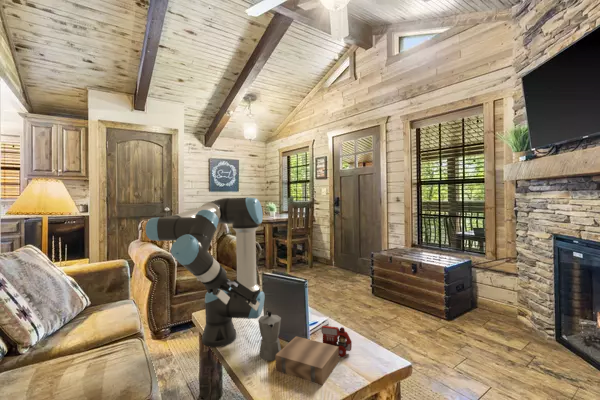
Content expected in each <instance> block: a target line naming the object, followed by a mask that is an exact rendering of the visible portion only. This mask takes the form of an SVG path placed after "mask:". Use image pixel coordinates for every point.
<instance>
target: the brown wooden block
mask: <svg viewBox="0 0 600 400" xmlns="http://www.w3.org/2000/svg"><path fill="white" fill-rule="evenodd" d="M339 359H340V356H339V347H338V346H334V345H330V344H326V343H323V341H322V342H321V341H317V340H313V339H309V338H305V337H300V336H297V335H296V336H295V337H293V338H292V339H291V340H290V341H289V342H288V343H287V344H286V345H284V347H283V348H281V350H280V351H279V352H278V353H277V354H276V355H275V360H274V361H275V371H276V372H278V373H281V374H285V375H286V376H287V375H288V376H291V377H294V378H296V379H300V380H304V381H306V382H309V383H313V384H315V385H319V386H323V385H324V384H325V382H326V381H327V380H328V378H329V376H330V375H331V374H332V372H333V371H334V369H335V368H336V366H337V365H338V363H339V361H340V360H339Z"/></svg>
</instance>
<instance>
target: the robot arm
mask: <svg viewBox="0 0 600 400" xmlns="http://www.w3.org/2000/svg"><path fill="white" fill-rule="evenodd" d="M263 214H264V213H263V207H262V205H261V202H260V200H259V199H258V198H257V197H248V196H247V197H223V198H219V199H215V200H213V201H208V202H205V203H204V204H202V206H200V207H196V208H193V209H190V210H187V211H183V212H180V213H176V214H173V215H168V216H166V217H164V216H163V217H162V216H158V217H151V218H149V220H147V222H146V225H145V228H144V229H145V234H146V237H147V239H149V240H151V241H156V242H157V241H158V242H162V241H163V242H164V241H165V242H168V241H169V242H172V241H173V243H172V245H171V248H170V252H171V255H172V256H173V258H174V259H175V260H176V261H177V262H178V264H180V265H182V266H183V267H184V268H185V269H186V270H187V271H189V273H190V274H192V275H193V276H194V277H195V278H196V281H200V282H201V283H202V285H203V286H204V287H205V289H206V293H205V296H204V306H205V307H204V308H205V310H204V311H205V326H204V330H203V333H202V336H201V342H202V344H203V345H204V346H205V347H210V348H219V347H224V346H227V345H229V344H232V343H233V342H234V341H235V340H236V339H237V330H236V328H235V325H234V323H233V319H244V320H245V319H248V320H251V319H252V320H253V319H255V320H256V319H259V318H260V317H261V315H262V313H263V309H264V305H265V297H266V296H265V292H264V291H261V286H260V285H259V284H258V283H257V252H256V251H257V248H256V243H257V242H256V241H257V240H256V237H257V236H256V232H257V230H258V229H259V228H260V227H259V225H261V224H262V222H263V217H264V215H263ZM219 224H227V225H228V224H231V226H232V230H234V232H235V243H236V244H235V245H236V249H235V250H236V279H233V280H231V279H230V278H228V276H227V271H226V269H225V268H224V267H223V266H222V265H221V264H220V263H219V262H218V261H217V260H216V259H215V257H214V256H213V255H211V253H210V252H209V249H210V246H211V243H212V241H213V238H214V236H215V233H216V232H217V228H218V225H219Z"/></svg>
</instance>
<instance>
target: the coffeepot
mask: <svg viewBox="0 0 600 400" xmlns="http://www.w3.org/2000/svg"><path fill="white" fill-rule="evenodd" d="M257 322H258V327H259V332H260V337H262V338H261V342H260V347H259V353H258V356H259V357H260V360H261V359H262V360H263V361H266V362H273V361H276V360H275V355H276V354H277V353H278V352H279V351H280V350H282V347H281V341H280V338H279V336H280V330H281V322H282V317H281V316H279V315H278V314H272V311H270V310H266V313H265V315H262V316H261V315H260V316H259V318H258V321H257Z"/></svg>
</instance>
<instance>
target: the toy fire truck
mask: <svg viewBox="0 0 600 400" xmlns="http://www.w3.org/2000/svg"><path fill="white" fill-rule="evenodd" d="M321 334H322V343H326V344H330V345H334V346H338V347H339V358H343V357H345V356H346V355H347V352H351V351H352V339H351V338H350V336H349V335H350V334H349V333H348V332H347V331H346V329H345V328H344V327H342V326H341V327H340V328H339V327H337V326H329V325H322V326H321Z"/></svg>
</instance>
